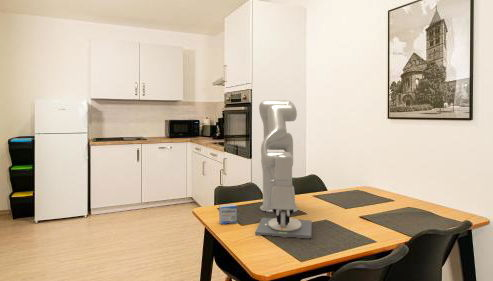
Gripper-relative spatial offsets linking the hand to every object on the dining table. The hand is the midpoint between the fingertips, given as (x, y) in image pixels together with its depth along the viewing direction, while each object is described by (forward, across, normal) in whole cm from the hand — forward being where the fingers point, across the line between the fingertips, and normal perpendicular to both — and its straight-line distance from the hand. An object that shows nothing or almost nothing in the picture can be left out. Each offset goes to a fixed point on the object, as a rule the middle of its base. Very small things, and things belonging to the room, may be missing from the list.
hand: (283, 223), depth 142 cm
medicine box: (+5, -28, +10) cm, 30 cm away
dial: (+3, 0, +5) cm, 6 cm away
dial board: (+5, 0, +6) cm, 8 cm away
